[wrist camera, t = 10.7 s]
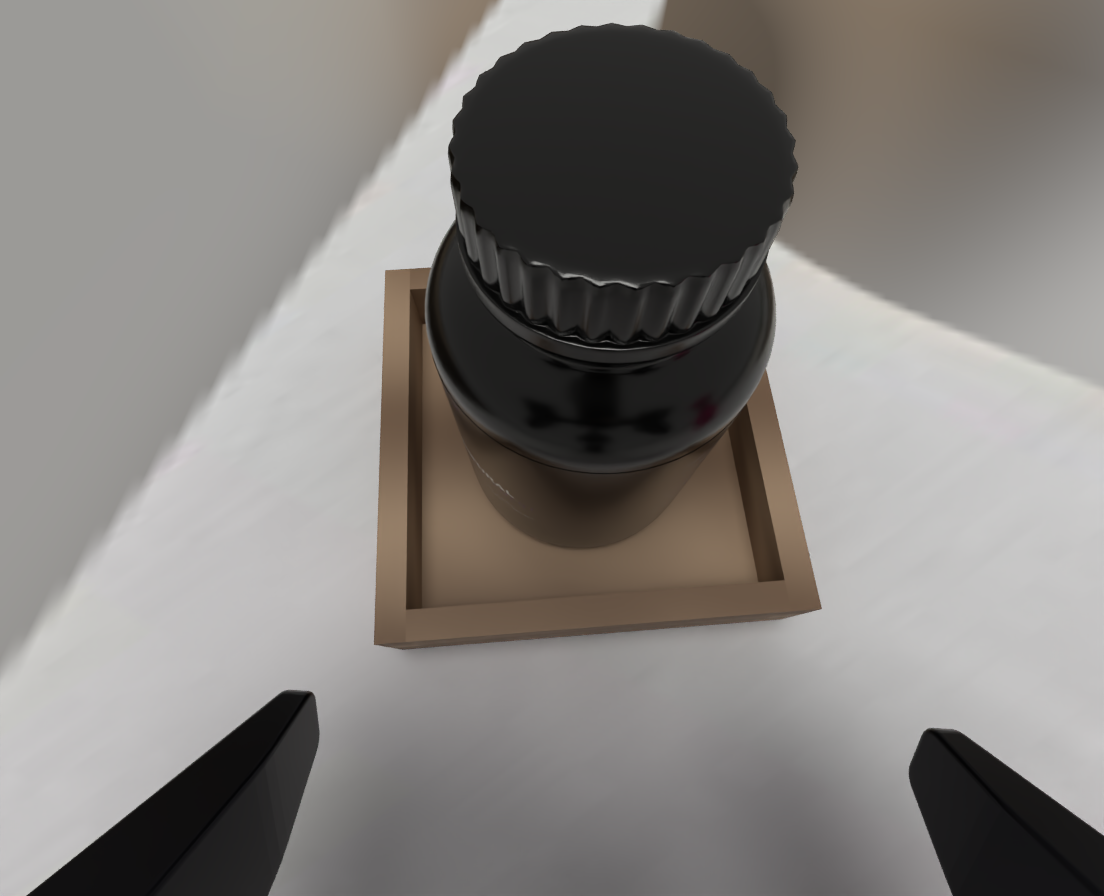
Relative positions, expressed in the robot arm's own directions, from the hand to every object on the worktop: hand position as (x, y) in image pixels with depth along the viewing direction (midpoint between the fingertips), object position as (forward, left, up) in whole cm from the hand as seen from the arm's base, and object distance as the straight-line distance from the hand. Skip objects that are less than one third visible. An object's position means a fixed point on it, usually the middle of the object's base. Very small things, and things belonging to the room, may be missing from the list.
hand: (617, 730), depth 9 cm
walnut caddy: (+8, 0, -9) cm, 12 cm away
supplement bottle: (+8, 0, -8) cm, 11 cm away
